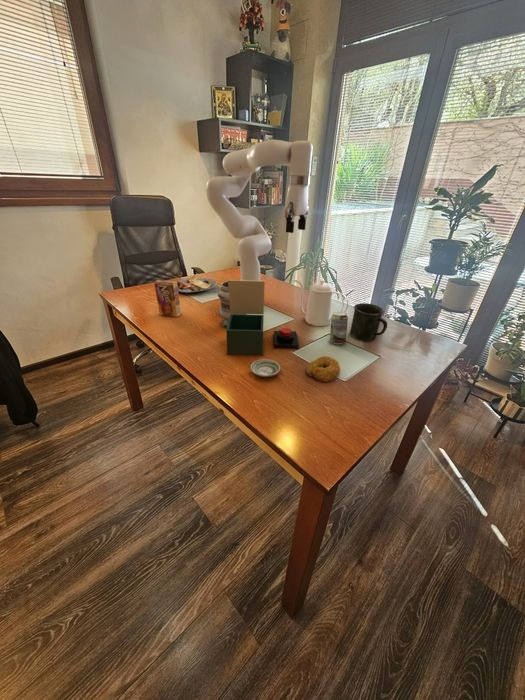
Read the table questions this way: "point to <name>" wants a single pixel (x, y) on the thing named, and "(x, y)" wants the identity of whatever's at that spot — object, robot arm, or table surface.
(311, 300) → the coffeepot
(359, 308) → the mug
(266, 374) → the saucer
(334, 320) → the beverage can
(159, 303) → the candy box
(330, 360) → the bagel
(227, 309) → the apothecary jar
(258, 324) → the box
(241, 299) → the lid
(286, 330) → the button
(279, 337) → the switch block
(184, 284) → the food plate
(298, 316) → the table surface
